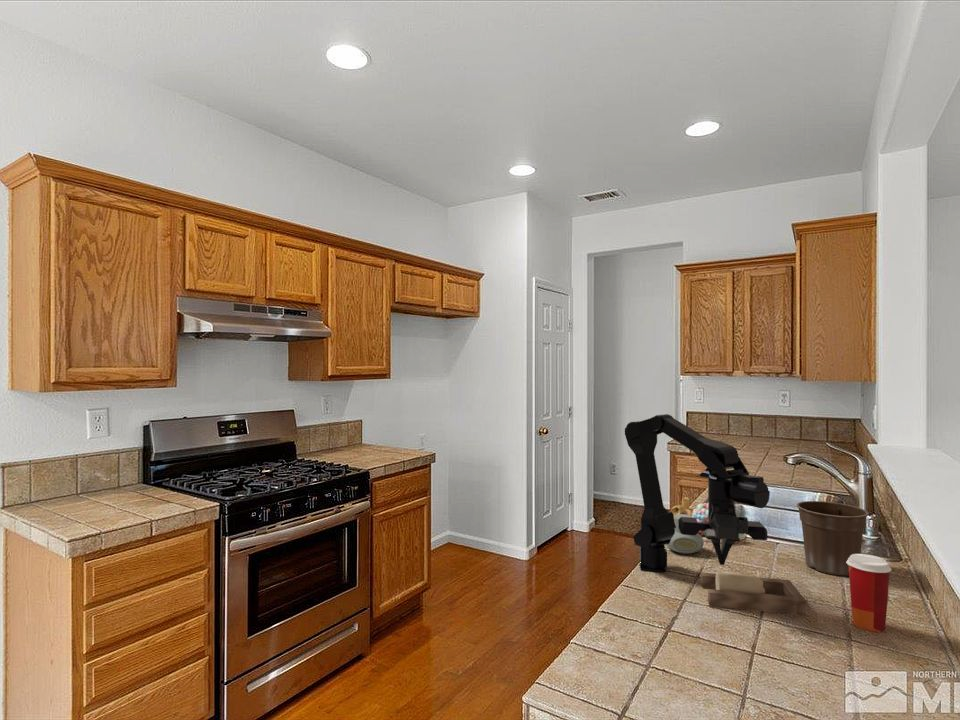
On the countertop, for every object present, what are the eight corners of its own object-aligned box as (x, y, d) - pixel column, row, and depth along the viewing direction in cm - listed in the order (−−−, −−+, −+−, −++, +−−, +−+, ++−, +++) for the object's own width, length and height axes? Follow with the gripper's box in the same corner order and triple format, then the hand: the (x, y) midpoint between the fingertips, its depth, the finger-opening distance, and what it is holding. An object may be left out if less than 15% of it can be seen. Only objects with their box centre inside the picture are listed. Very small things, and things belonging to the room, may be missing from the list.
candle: (719, 601, 126) (766, 606, 124) (719, 578, 126) (766, 582, 124) (715, 589, 132) (760, 594, 129) (715, 567, 131) (760, 571, 129)
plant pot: (792, 553, 157) (792, 497, 157) (858, 561, 151) (858, 503, 151) (802, 574, 142) (802, 512, 142) (876, 583, 136) (876, 519, 136)
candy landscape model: (654, 533, 177) (654, 504, 177) (676, 516, 195) (676, 490, 195) (737, 549, 162) (737, 518, 162) (753, 529, 180) (753, 501, 180)
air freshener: (701, 547, 162) (701, 513, 162) (705, 557, 154) (705, 522, 154) (662, 544, 165) (662, 511, 165) (665, 554, 157) (665, 519, 157)
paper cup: (883, 620, 117) (883, 555, 117) (897, 637, 110) (897, 568, 110) (841, 614, 119) (841, 551, 119) (852, 631, 112) (852, 563, 112)
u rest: (709, 605, 124) (709, 592, 124) (700, 584, 135) (700, 572, 135) (806, 615, 119) (806, 601, 119) (789, 592, 131) (789, 580, 131)
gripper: (683, 504, 123) (683, 573, 123) (774, 510, 119) (774, 581, 119) (678, 493, 134) (678, 556, 134) (760, 497, 129) (761, 563, 129)
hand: (721, 564), depth 129 cm, fingers closed
